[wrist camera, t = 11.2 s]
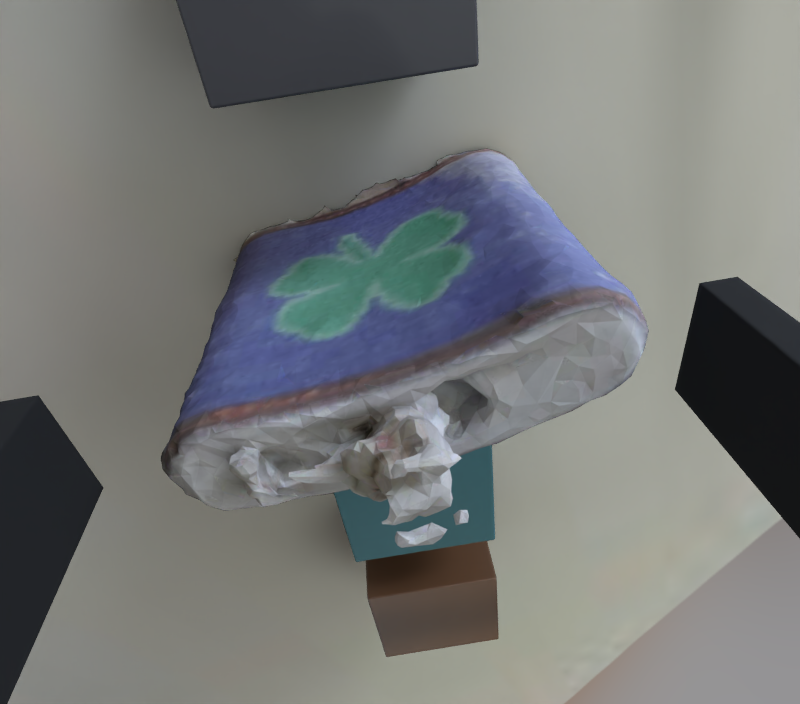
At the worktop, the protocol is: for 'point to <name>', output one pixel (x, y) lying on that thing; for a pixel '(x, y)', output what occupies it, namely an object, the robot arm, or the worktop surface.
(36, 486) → the robot arm
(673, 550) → the worktop surface
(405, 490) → the flask
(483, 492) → the block
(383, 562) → the block
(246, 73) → the block
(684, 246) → the worktop surface
